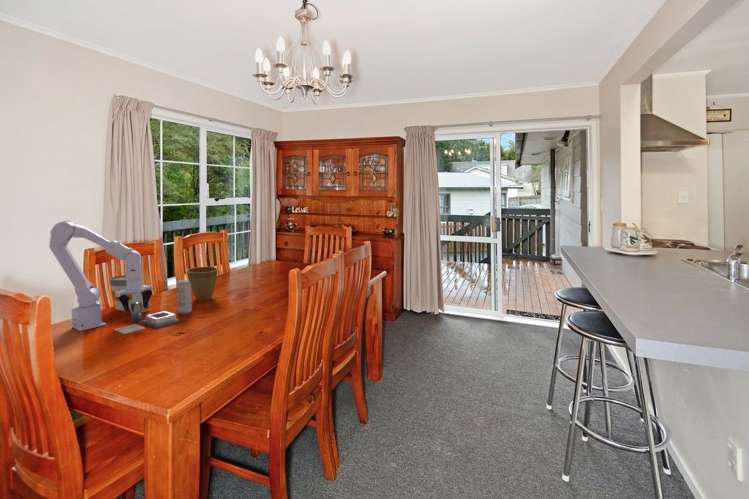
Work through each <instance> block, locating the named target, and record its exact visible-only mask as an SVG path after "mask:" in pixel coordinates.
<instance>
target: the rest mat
mask: <svg viewBox="0 0 749 499" xmlns="http://www.w3.org/2000/svg"><path fill="white" fill-rule="evenodd" d="M145 329H146V327H144V326H142V325H139V324H136V323H134V324H130V325H126V326H122V327H118V328H114V331H116V332H118V333H119V334H122V335H127V334H130V333H134V332H137V331H143V330H145Z"/></svg>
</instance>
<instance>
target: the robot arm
mask: <svg viewBox="0 0 749 499" xmlns="http://www.w3.org/2000/svg"><path fill="white" fill-rule="evenodd" d="M49 233H50V239H49V249H50V250H51V252H52V253H53V256H54V257H55V258H56V260H57V262H58V264H59V265H60V266H61V268H62V270H63V271H64V273H65V275H66V276H67V277H68V279H69V281H70V282H71V284H72V286H73V287H74V293H75V294H76V297H77V304H78V306H77V307H73V308H72V309H71V322H72V323H71V324H72V325H71V328H74V329H76V330H77V331H79V332H80V331H81V332H83V331H85V330H90V329H91V330H92V329H93V328H97V327H102V326H106V325H107V323H105V322H103V319H102V305H101V301H99V298H100V296H101V292H100V289H98V288H96V287H95V286H94V285H93V284H92V282H90V280H88V278H87V276H86V275H85V273H84V271H83V270H82V268H81V266H80V265H79V263H78V262H77V260H76V258H75V257H74V256H73V254H72V252H71V250H70V249H69V247H68V244H69V243H70V241H71V239H72V238H74V239H75V238H77V239H78V238H79V239H81V238H83V239H86V240H87V241H90V242H92V243H94V244H95V245H99V246H100V247H103V248H104V251H105V253H106V254H109V255H110V256H112V257H115V258H116V259H118V260H120V261H121V260H122V261H124V264H125V275H126V282H127V289H125V290H122V291H118V292H115V295H116V297H118V299H119V300H120V302H121V303H122V305H123V307H124V310H125V311H124V312H125V313H130V310H129V297H127V296H126V295H129V294H135V293H140V292H141V294H142V298H143V307H144V308H147V307H148V302H149V300H151V297H152V295H153V291H154V286H153V285H146V286H143V287H142V285H143V274H142V266H141V265H142V264H141V259H142V258H141V257H142V256H141V254H140V252H139V251H137V250H136V249H133V248H132V247H128V246H126V245H124V244H122V242H121V241H120V240H118V241H116V240H108V239H106V238H105V237H103V236H101V235H100V234H97V233H96V232H95V231H93V230H91V229H89V228H87V227H85V226H83V225H81V224H79V223H76V222H75V221H72V220H64V221H63V220H62V221H60V222H57V223H56V224H54V225H53V227H52V228H51V230H50V232H49Z"/></svg>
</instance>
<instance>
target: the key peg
mask: <svg viewBox="0 0 749 499" xmlns="http://www.w3.org/2000/svg"><path fill="white" fill-rule="evenodd" d="M130 307H131V310H130V317H131V318H130V319H131V323H139V322H142V321H143V312H142V308H141V302H132V303H130Z"/></svg>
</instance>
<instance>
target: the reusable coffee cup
mask: <svg viewBox="0 0 749 499" xmlns="http://www.w3.org/2000/svg"><path fill="white" fill-rule="evenodd" d="M109 282H110V283H109V284H110V286H111V296H112V299H113V301H114V303H115V307H116V308H115V309H116V310H117V311H119V310H121V312H123V311H124V307H123V305H122V303H121V302H120V300H119V299H118V297H116V295H115V292H118V291H122V290H125V289H127V282H126V274H125V275H124V274H123V275H118V276H117V275H116V276H113V277H110V281H109ZM126 296H127V297H129V311H131V307H130V303H132V294H129V295H126ZM124 312H125V311H124Z"/></svg>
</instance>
